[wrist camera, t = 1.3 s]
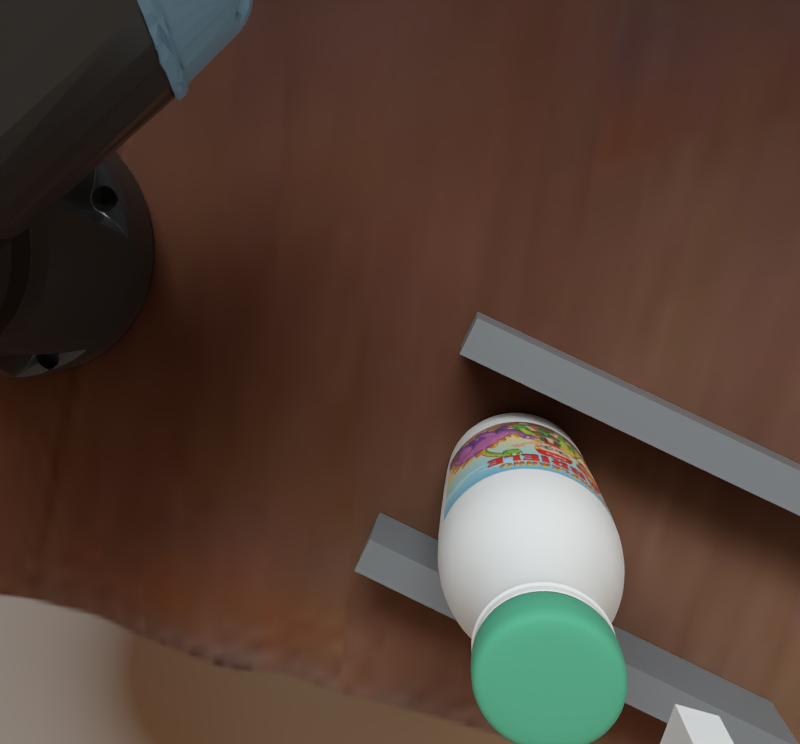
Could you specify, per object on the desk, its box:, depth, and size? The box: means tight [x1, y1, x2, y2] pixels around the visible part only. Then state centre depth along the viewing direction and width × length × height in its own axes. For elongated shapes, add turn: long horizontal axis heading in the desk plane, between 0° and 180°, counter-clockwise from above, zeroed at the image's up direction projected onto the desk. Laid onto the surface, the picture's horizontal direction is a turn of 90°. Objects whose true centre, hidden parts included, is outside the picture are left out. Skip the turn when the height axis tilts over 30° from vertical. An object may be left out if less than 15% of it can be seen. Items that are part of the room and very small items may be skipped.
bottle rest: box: [354, 312, 800, 744], centre depth 38 cm, size 25×15×4 cm, turn 65°
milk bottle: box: [438, 413, 628, 744], centre depth 30 cm, size 8×8×20 cm
